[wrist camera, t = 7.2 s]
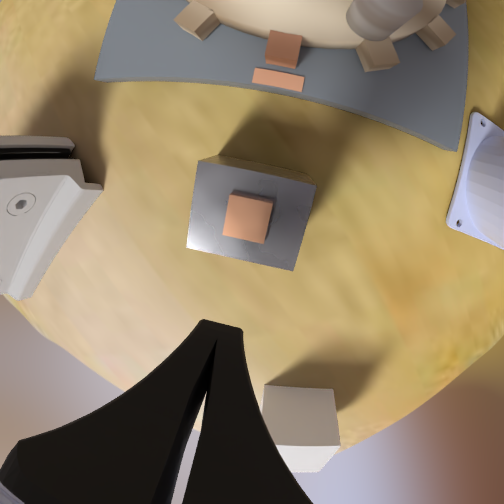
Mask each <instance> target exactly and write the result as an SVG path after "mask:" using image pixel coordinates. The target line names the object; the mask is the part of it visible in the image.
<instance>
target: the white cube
mask: <svg viewBox="0 0 504 504" xmlns="http://www.w3.org/2000/svg"><path fill="white" fill-rule="evenodd" d="M260 411H261V414H262V417H263V419H264V422H265V424H266V426H267V428H268V431H269V433H270V435H271V437H272V439H273V441H274V443H275V445H276V447H277V449H278V451H279V453H280V455H281V457H282V458H283V460H284V462H285V463H286V465H287V467H288V468H289V470H290V471H291V472H319V471H320V470H321V469H322V468H323V467H324V465H325V464H326V463H327V462H328V460H329V459H330V458H331V457H332V456H333V455H334V453H335V452H336V451H337V450H338V448H339V447H340V446H341V445H340V436H339V428H338V420H337V413H336V405H335V398H334V392H333V389H321V388H299V387H285V386H273V385H264V390H263V395H262V399H261V404H260Z"/></svg>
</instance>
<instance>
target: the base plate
mask: <svg viewBox="0 0 504 504" xmlns="http://www.w3.org/2000/svg"><path fill="white" fill-rule="evenodd" d="M188 5H189V3H188V2H187V1H186V0H116V3H115V6H114V9H113V11H112V14H111V17H110V20H109V23H108V26H107V30H106V33H105V36H104V40H103V43H102V47H101V51H100V55H99V59H98V63H97V67H96V72H95V76H94V80H98V81H103V82H126V81H172V82H192V83H205V84H215V85H224V86H233V87H240V88H247V89H253V90H259V91H265V92H271V93H276V94H281V95H286V96H291V97H295V98H300V99H304V100H308V101H312V102H316V103H320V104H324V105H327V106H331V107H334V108H338V109H341V110H345V111H348V112H351V113H354V114H357V115H360V116H363V117H366V118H369V119H372V120H375V121H378V122H380V123H383V124H386V125H388V126H391V127H394V128H396V129H399V130H401V131H404V132H406V133H408V134H411V135H413V136H415V137H418V138H420V139H422V140H424V141H427V142H429V143H431V144H433V145H435V146H437V147H439V148H441V149H443V150H448V151H454V152H457V149H458V144H459V139H460V133H461V128H462V121H463V114H464V107H465V98H466V88H467V75H468V19H467V7H466V2H465V3H463V4H462V5H460V6H458V7H456V8H455V9H454V8H453V7H451V6H449V5H448V4H445V6H444V7H443V9H442V11H441V13H440V14H439V16H440V17H441V18H442V19H443V20H444V21H445V22H446V23H447V24H448V25H449V26H450V28H451V29H452V30H453V31H454V32H455V33H456V35H455V36H454V37H453V38H452V39H451V40H450V41H449V42H448V43H447V44H446V45H444V46H442V47H440V48H438V49H435V50H433V51H432V50H431V49H430V48H429V47H428V46H427V45H426V43H425V42H424V41H423V40H422V39H421V38H420V37H419V36H418V35H417V34H416V33H414V34H413V35H411V36H409V37H406V38H404V39H402V40H400V41H397V42H394V43H392V44H393V46H394V49H395V51H396V53H397V56H398V58H399V61H400V63H399V64H397V65H395V66H393V67H392V68H390V69H385V70H377V71H370V72H365V71H364V69H363V66H362V63H361V61H360V59H359V56H358V54H357V51H356V49H324V48H312V47H304V46H300V50H299V55H298V60H297V64H296V68H295V69H293V68H288V67H283V66H278V65H272V64H266V60H265V51H266V46H267V42H268V40H267V39H263V38H260V37H256V36H253V35H249V34H246V33H243V32H240V31H238V30H235V29H233V28H230V27H227V26H225V25H223V24H221V23H220V24H219V25H218V26H217V27H216V28H215V29H214V30H213V31H212V32H211V33H210V34H209V35H208V36H207V37H206V38H205V39H204V40H203V41H202V40H200V39H198V38H197V37H195V36H193V35H192V34H190V33H188V32H186V31H185V30H183V29H182V28H181V27H180V26H179V25H178V24H177V23H176V22H175V21H174V19H175V18H176V17H177V15H178V14H179V13H180V12H181V11H182V10H183V9H184V8H185V7H186V6H188Z"/></svg>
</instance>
